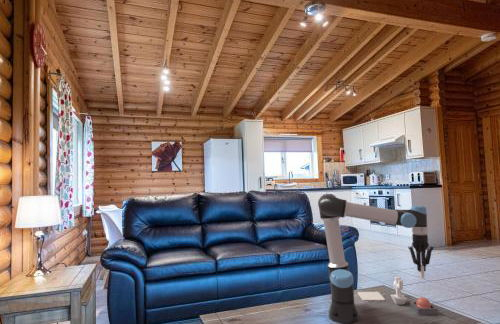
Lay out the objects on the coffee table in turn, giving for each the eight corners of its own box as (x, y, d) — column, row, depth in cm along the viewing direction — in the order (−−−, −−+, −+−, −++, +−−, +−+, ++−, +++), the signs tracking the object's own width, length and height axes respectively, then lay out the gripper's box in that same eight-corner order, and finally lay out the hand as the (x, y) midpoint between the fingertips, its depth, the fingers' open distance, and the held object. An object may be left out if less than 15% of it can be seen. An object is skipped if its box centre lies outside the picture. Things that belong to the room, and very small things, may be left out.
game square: (363, 300, 194) (363, 299, 194) (357, 292, 207) (357, 291, 207) (385, 300, 193) (385, 299, 193) (378, 292, 206) (378, 291, 206)
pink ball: (420, 313, 174) (419, 300, 175) (414, 308, 181) (413, 295, 182) (433, 313, 174) (432, 300, 174) (427, 308, 181) (426, 295, 181)
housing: (418, 314, 173) (418, 308, 173) (410, 307, 183) (410, 301, 183) (437, 314, 172) (437, 308, 173) (428, 307, 182) (428, 301, 183)
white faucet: (401, 299, 194) (400, 274, 194) (408, 306, 184) (407, 279, 185) (389, 299, 194) (388, 274, 195) (396, 306, 185) (394, 279, 185)
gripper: (410, 235, 176) (412, 279, 175) (435, 235, 175) (437, 279, 174) (404, 232, 184) (406, 275, 183) (428, 232, 183) (430, 275, 182)
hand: (421, 277), depth 179 cm, fingers closed
